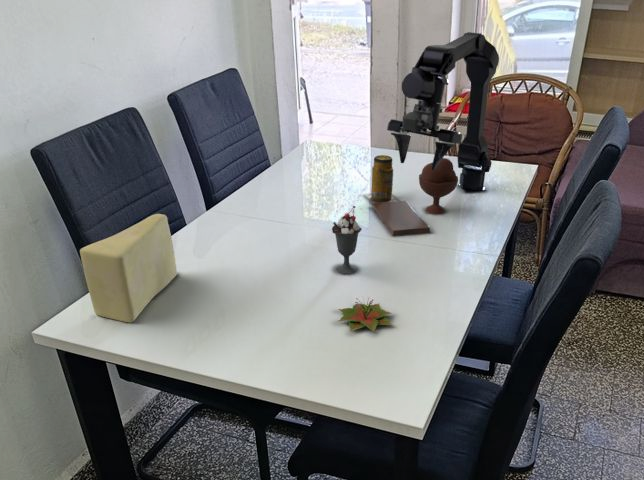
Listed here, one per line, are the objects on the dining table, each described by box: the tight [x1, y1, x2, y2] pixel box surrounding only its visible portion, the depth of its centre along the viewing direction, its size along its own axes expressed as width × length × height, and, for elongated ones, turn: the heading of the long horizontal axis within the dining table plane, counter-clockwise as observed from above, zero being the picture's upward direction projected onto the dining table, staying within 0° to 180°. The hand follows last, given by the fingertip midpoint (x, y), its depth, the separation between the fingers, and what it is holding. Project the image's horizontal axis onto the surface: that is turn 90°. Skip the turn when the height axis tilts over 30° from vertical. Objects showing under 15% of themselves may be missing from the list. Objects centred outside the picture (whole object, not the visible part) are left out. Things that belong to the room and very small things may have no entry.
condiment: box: [365, 154, 398, 203], centre depth 186 cm, size 7×8×12 cm
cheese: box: [79, 213, 178, 323], centre depth 134 cm, size 22×10×15 cm, turn 159°
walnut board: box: [371, 200, 431, 237], centre depth 176 cm, size 10×20×2 cm, turn 15°
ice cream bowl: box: [418, 157, 459, 215], centre depth 179 cm, size 11×11×15 cm
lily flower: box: [337, 295, 394, 333], centre depth 130 cm, size 12×12×5 cm
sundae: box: [331, 205, 363, 275], centre depth 147 cm, size 7×7×15 cm
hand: (417, 166), depth 166 cm, fingers open, 9 cm apart
